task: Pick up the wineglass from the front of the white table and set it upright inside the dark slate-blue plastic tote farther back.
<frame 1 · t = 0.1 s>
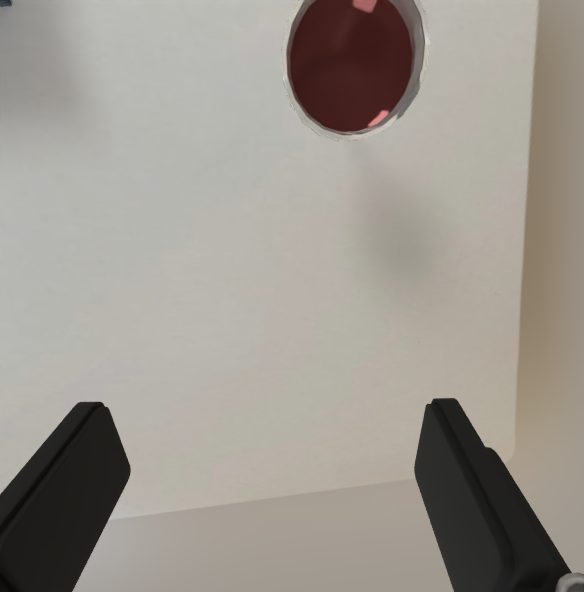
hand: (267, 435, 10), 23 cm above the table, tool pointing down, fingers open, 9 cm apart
wineglass: (331, 92, 26), on the table
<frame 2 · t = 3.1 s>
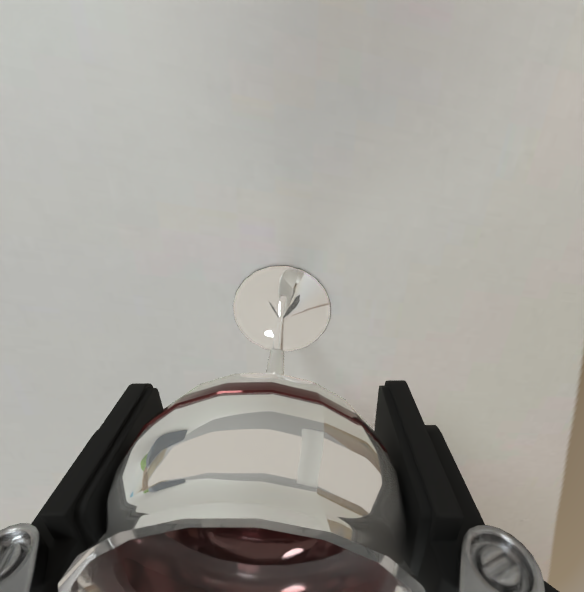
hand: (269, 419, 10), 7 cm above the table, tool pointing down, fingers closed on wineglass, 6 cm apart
wineglass: (281, 309, 17), on the table, touching gripper
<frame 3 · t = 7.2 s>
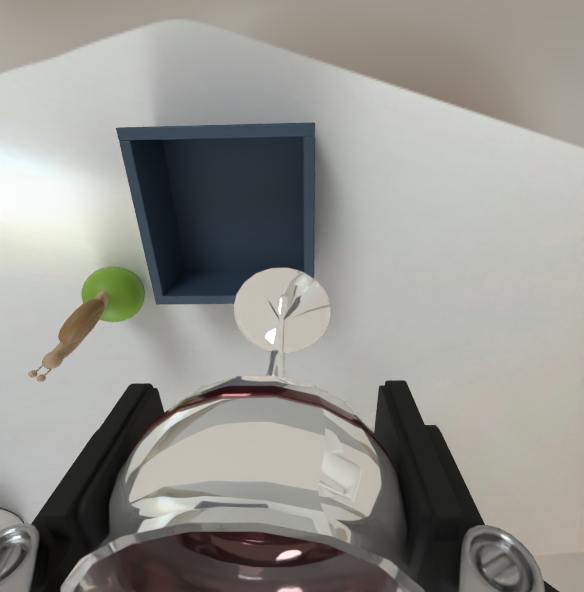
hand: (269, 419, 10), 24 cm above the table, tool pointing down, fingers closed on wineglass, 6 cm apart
tote: (239, 208, 31), on the table
candle: (4, 518, 54), on the table
wineglass: (282, 311, 17), point 17 cm above the table, touching gripper
snail on green ball: (126, 286, 35), on the table
when the fingers open (8 cm above the table, at t = 11.7 s): wineglass stays where it is, resting on tote.
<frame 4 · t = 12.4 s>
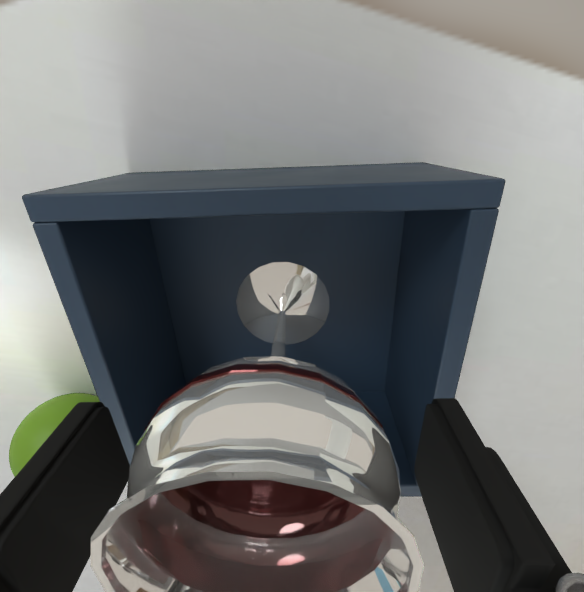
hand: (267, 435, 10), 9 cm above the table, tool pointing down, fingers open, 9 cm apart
tote: (281, 300, 18), on the table
wineglass: (283, 304, 18), resting on tote
snail on green ball: (94, 409, 22), on the table
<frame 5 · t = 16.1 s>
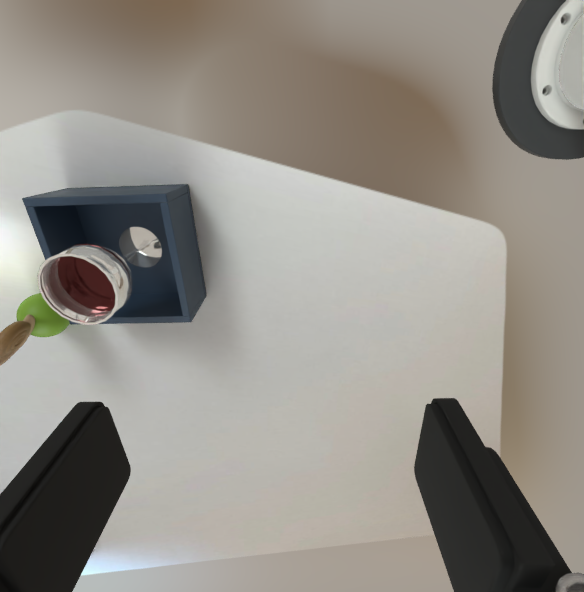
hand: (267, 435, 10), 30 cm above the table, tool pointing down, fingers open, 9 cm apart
tote: (141, 245, 39), on the table
wineglass: (141, 247, 39), resting on tote
snail on green ball: (59, 306, 43), on the table
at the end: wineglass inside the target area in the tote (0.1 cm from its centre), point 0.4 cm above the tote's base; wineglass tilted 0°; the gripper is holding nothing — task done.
